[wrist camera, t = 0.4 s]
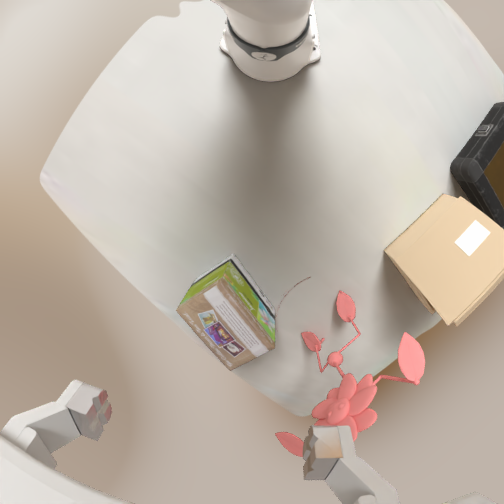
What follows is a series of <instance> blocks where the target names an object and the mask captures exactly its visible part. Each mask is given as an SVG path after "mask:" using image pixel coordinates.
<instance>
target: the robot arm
mask: <svg viewBox="0 0 504 504" xmlns="http://www.w3.org/2000/svg"><path fill="white" fill-rule="evenodd" d="M211 1H213V2H214V3H216V4H217V5H219V6H220V7H221V8H223V10H224V11H225V13H226V15H227V19H226V22H225V24H227V27H226V29H225V30H224V31H223V36H222V38H221V40H220V43H219V45H220V48H221V49H222V50H223V51H224V52H226V53H227V54H229V55H230V56H231V57H232V59H233V61H234V63H235V64H236V66H237V67H238V68H239V69H240V70H241V71H242V72H243V73H244V74H246V75H248V76H249V77H251V78H254V79H257V80H261V81H268V82H274V81H281V80H285V79H287V78H290V77H292V76H294V75H295V74H297V73H298V72H299V71H300V70H301V69H302V68H303V67H304V66H306V65H307V64H310V63H313V62H315V61H317V60H319V59H320V56H321V52H320V44H319V36H318V29H317V22H316V16H315V9H314V3H313V0H211ZM310 16H311V17H310ZM313 48H315V49H316V50H315V51H313ZM107 397H108V395H107V392H106V391H105V390H102V389H100V388H97V387H94V386H92V385H89V384H86V383H84V382H81V381H78V380H76V379H75V380H73V381H72V382H71V383H70V384H69V386H68V387H67V388H66V389H65V391H64V392H63V393H62V395H61V396H60V397H59V398H58V400H57V401H56V402H50V403H47V404H45V405H42V406H40V407H37V408H35V409H32V410H29V411H26V412H24V413H21V414H18V415H15V416H13V417H12V418H11V419H10V421H9V422H8V423H7V424H6V426H5V427H4V428H3V429H2V431H1V432H0V504H134V503H131V502H128V501H126V500H123V499H120V498H117V497H114V496H112V495H109V494H107V493H104V492H102V491H99V490H97V489H95V488H92V487H90V486H88V485H85V484H83V483H81V482H79V481H77V480H74V479H72V478H70V477H69V476H66V475H65V474H63V473H61V472H59V471H57V470H55V467H56V465H57V462H56V460H55V459H54V457H53V456H52V455H51V453H52V452H54V451H56V450H58V449H59V448H61V447H62V446H64V445H66V444H68V443H69V442H71V441H73V440H75V439H76V438H78V437H80V436H81V435H83V436H85V437H88V438H91V439H93V440H96V441H98V439H99V438H100V436H101V434H102V432H103V426H102V425H104V424H107V423H108V421H109V419H110V417H111V413H112V411H111V410H112V408H111V404H110V402H109V401H108V400H107ZM308 433H309V436H307V437H306V438H305V440H304V444H303V459H304V460H305V461H306V462H305V464H304V466H303V470H304V471H303V472H304V480H325V482H326V483H327V485H328V486H329V487H330V488H331V490H332V491H333V492H334V493H335V495H336V496H337V497H338V499H339V500H340V501H341V502H342V504H400V502H399V498H398V494H397V490H396V489H395V488H394V487H393V486H392V485H390V484H389V483H388V482H387V481H386V480H385V479H384V478H383V477H381V476H380V475H379V474H378V473H377V472H376V471H375V470H374V469H372V468H371V467H370V466H369V465H368V464H367V463H366V462H365V461H364V460H363V459H362V458H360V457H357V456H356V452H355V447H354V442H353V438H352V433H351V429H350V427H349V426H348V425H345V426H335V425H328V426H314V425H312V426H310V428H309V431H308ZM443 504H497V503H496V502H494V501H493V500H491V499H489V498H488V497H486V496H484V495H482V494H480V493H478V492H473V493H470V494H467V495H464V496H462V497H459V498H457V499H454V500H451V501H449V502H446V503H443Z"/></svg>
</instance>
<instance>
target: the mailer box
mask: <svg viewBox="0 0 504 504" xmlns="http://www.w3.org/2000/svg"><path fill="white" fill-rule="evenodd" d="M457 199H458V198H456V197H452V196H449V195H446V194H442V195H441V196H440V197H439V198H438V199H437V200H436V201H435V202H434V203H433V204H432V205H431V206H430V207H429V208H428V209H427V210H426V211H425V212H424V213H423V214H422V215H421V216H420V217H419V218H418V219H417V220H416V221H414V222H413V223H412V224H411V225H410V226H409V227H408V228H407V229H406V230H405V231H404V232H403V233H402V234H401V235H400V236H399V237H397V238H396V239H395V240H394V241H393V242H392V243H391V244H390V245H389V246H388V247H387V248H385V249H384V251H385V253H386V254H387V255H388V257H389V258H390V259H391V261H392V262H393V263H394V265H395V266H396V268H397V269H398V270H399V272H400V273H401V275H402V276H403V277H404V279H405V280H406V282H407V283H408V284H409V286H410V287H411V289H412V290H413V292H414V293H415V295H416V296H417V298H418V299H419V300H420V302H421V303H422V304H423V305H424V306H425V307H426V308H427V310H428V311H429V312H430V313H431V314H433V313H435V312H436V310H435V309H434V308H433V306H432V305H431V304H430V303H429V301H428V300H427V299H426V298H425V296H424V295H423V294H422V293H421V292H420V290H419V289H418V288H417V287H416V286H415V284H414V283H413V282H412V281H411V280H410V279H409V277H408V276H407V275H406V274H405V273H404V272H403V270H402V269H401V268H400V267H399V266H398V265H397V264H396V263H395V260H396V259H397V258H398V257H399V256H400V255H402V254H403V253H404V252H405V251H406V250H407V249H408V248H409V247H410V246H411V245H412V244H413V243H414V242H416V241H417V240H418V239H419V238H420V237H421V236H422V235H423V234H424V233H425V232H426V231H427V230H428V229H429V228H430V227H431V226H432V225H433V224H434V223H435V222H436V221H437V220H438V219H439V218H440V217H441V216H442V215H443V214H444V213H445V212H446V211H447V210H448V209H449V208H450V207H451V206H452V205H453V204H454V203H455V201H456V200H457Z"/></svg>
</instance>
